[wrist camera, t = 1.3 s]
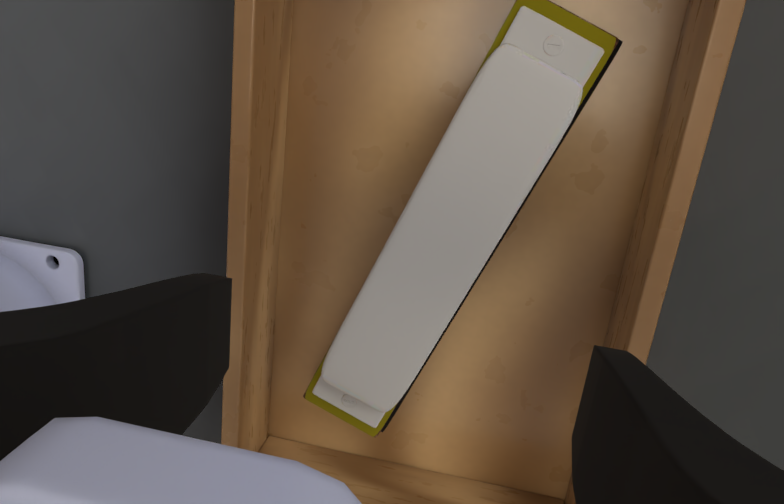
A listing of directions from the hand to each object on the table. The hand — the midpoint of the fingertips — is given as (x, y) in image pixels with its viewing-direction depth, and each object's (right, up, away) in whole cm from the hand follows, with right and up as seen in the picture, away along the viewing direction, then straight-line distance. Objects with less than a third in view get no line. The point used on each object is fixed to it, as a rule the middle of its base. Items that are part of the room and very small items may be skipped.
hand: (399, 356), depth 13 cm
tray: (+2, +3, +8) cm, 9 cm away
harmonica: (+2, +3, +8) cm, 9 cm away
